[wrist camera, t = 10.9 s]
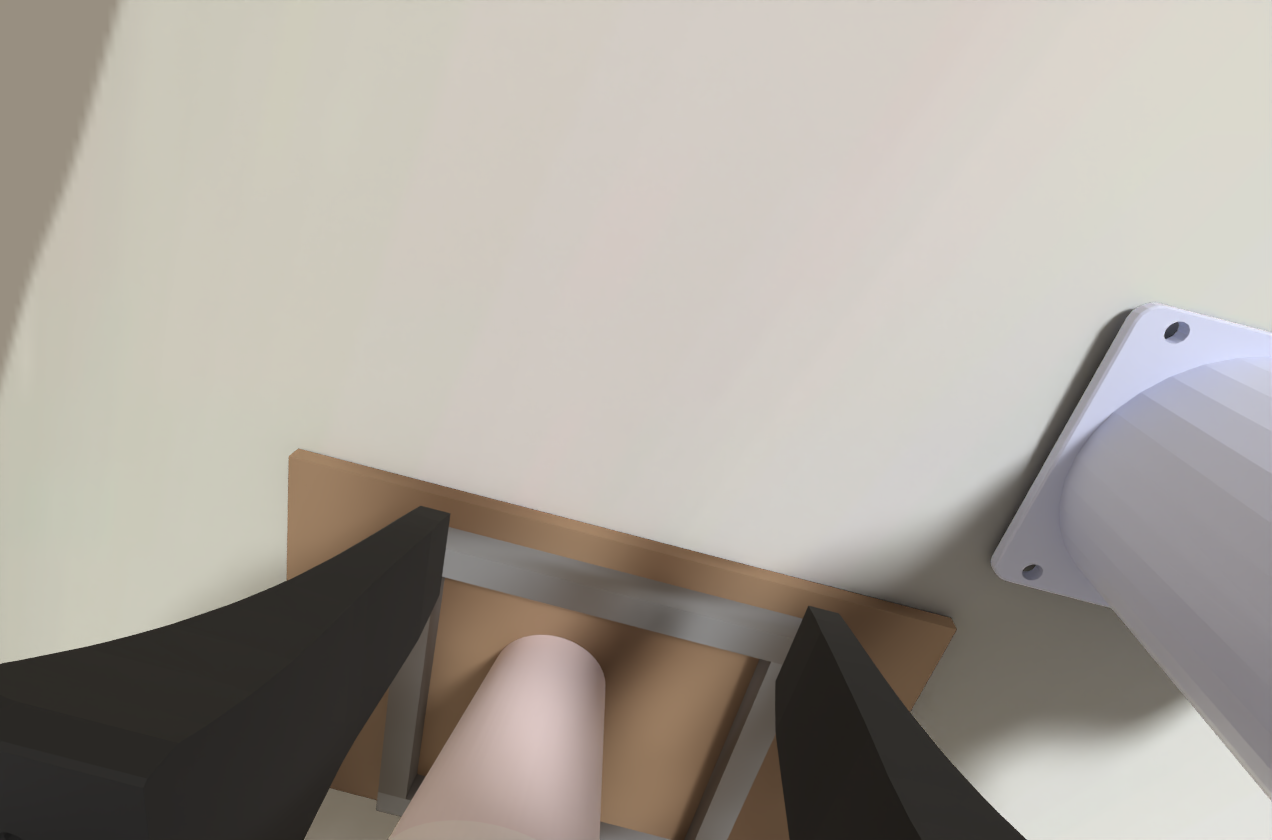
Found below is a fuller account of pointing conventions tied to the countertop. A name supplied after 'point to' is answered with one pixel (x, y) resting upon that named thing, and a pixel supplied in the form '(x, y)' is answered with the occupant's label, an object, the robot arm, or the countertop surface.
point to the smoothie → (520, 753)
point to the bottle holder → (598, 649)
